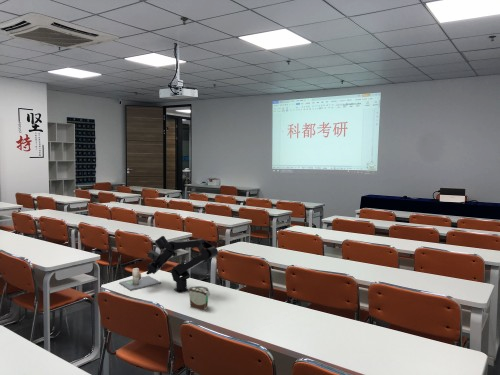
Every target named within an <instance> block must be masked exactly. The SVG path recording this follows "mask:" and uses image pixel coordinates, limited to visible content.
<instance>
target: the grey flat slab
mask: <svg viewBox="0 0 500 375" xmlns="http://www.w3.org/2000/svg"><path fill="white" fill-rule="evenodd" d="M118 284H119V285H121V286H122V287H123V288H126V289H127V290H129V291H130V292H133V291H137V290H139V289H145V288H149V287H153V286H158V285H162V282H161V281H159V280H157V279H156V278H153V277H152V276H150V275H147V276H141V279H140V280H139V284H138V285H133V278H132V279H127V280H122V281H119V283H118Z"/></svg>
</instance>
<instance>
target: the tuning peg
mask: <svg viewBox="0 0 500 375" xmlns="http://www.w3.org/2000/svg"><path fill="white" fill-rule="evenodd" d="M141 277H142V273H141V272H140V268H138V267H135V268H132V279H133V285H138V284H139V280H140V279H141Z"/></svg>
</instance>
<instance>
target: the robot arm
mask: <svg viewBox="0 0 500 375" xmlns="http://www.w3.org/2000/svg"><path fill="white" fill-rule="evenodd" d="M154 243H155V245H156V246H157V248H158V249H159V250H160V251H162V252H160V253H158V252H156V251H155V250H153V249H151V250H149V251H148V253H147V255H146V257H147V258H149V259H151V260H152V261H151V262H149V263H148V264H147V265H146V268H147V269H148V270H147V271H146V274H145V275H147V276H149V275H151V274H152V275H155V274H157V272H158V271H159V270H160V269H161V268H162V267H164V266H165V265H166V264H167V262H168V261H169V260H170V259H172V258H177V257H178V251H179V250H181V249H189V248H197V249H198V251H199V253H200V254H199V255H197V256H196V257H194V258H192V259H191V260H189V261H187V262H186V263H185V261H183V262H181V263H177V264H176V265H175V266H172V268H171V276H172V280H173V282H175V288H173V290H174V291H176V292H177V293H183V291H184V292H188V291H187V290H188V289H189V288H188V284H187V282H188V281H187V280H188V279H190V277H191V274H190V273H189V271H190V270H191V269H192V268H195V267H196V266H198V265H199V264H201V263H203V262H204V261H207V260H211V259H213V258H216V257H217V256H218V255H219V250H218V248H217V247H215V246H214V245H213V244H211V243H209V242H208V241H206V240H205V239H204V238H199V239H191V240H182V239H174V240H171V241H168V240H167V239H166V237H165V236H164V235H162V236H160V237H159V238H157V239H156V240H155V241H154ZM176 251H177V252H176Z"/></svg>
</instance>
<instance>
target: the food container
mask: <svg viewBox="0 0 500 375" xmlns="http://www.w3.org/2000/svg"><path fill="white" fill-rule="evenodd" d="M187 292H189V293H188V294H189V295H188V296H189V305H190V308H192V309H194V310H195V309H196V310H198V311H202V312H206V311H207V310H208V303H209V296H210V294H211V293H210V289H209V288H208V287H206V286H202V285H201V286H200V285H195V286H194V285H193V286H191V287H189V288H188V291H187Z"/></svg>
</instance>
